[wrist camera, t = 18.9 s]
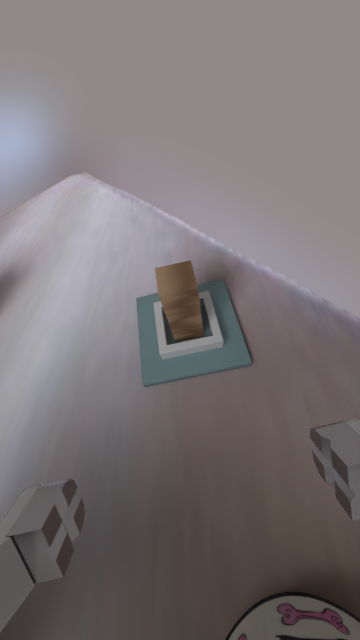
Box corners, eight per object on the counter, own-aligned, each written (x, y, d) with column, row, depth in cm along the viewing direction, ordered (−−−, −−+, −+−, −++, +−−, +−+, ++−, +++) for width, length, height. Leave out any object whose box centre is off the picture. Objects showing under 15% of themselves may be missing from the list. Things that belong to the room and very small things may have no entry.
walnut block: (175, 342, 37) (159, 296, 26) (171, 318, 39) (155, 268, 29) (203, 336, 36) (197, 288, 26) (198, 312, 39) (190, 260, 29)
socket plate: (144, 386, 35) (138, 381, 32) (138, 301, 43) (133, 291, 41) (251, 365, 34) (253, 357, 32) (223, 282, 42) (223, 271, 40)
